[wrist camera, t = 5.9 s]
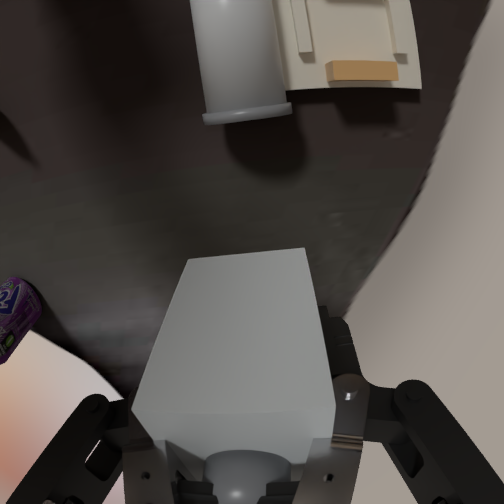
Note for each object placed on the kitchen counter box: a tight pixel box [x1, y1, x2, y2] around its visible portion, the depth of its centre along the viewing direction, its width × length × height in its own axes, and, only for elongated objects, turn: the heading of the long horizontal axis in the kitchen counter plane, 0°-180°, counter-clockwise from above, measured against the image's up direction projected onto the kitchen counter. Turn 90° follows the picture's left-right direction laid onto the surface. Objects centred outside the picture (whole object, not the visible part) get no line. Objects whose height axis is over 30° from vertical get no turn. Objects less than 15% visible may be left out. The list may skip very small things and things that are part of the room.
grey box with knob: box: [131, 248, 336, 504], centre depth 10 cm, size 6×4×9 cm
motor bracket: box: [190, 0, 422, 125], centre depth 18 cm, size 15×18×7 cm
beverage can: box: [0, 277, 42, 365], centre depth 31 cm, size 7×7×12 cm
